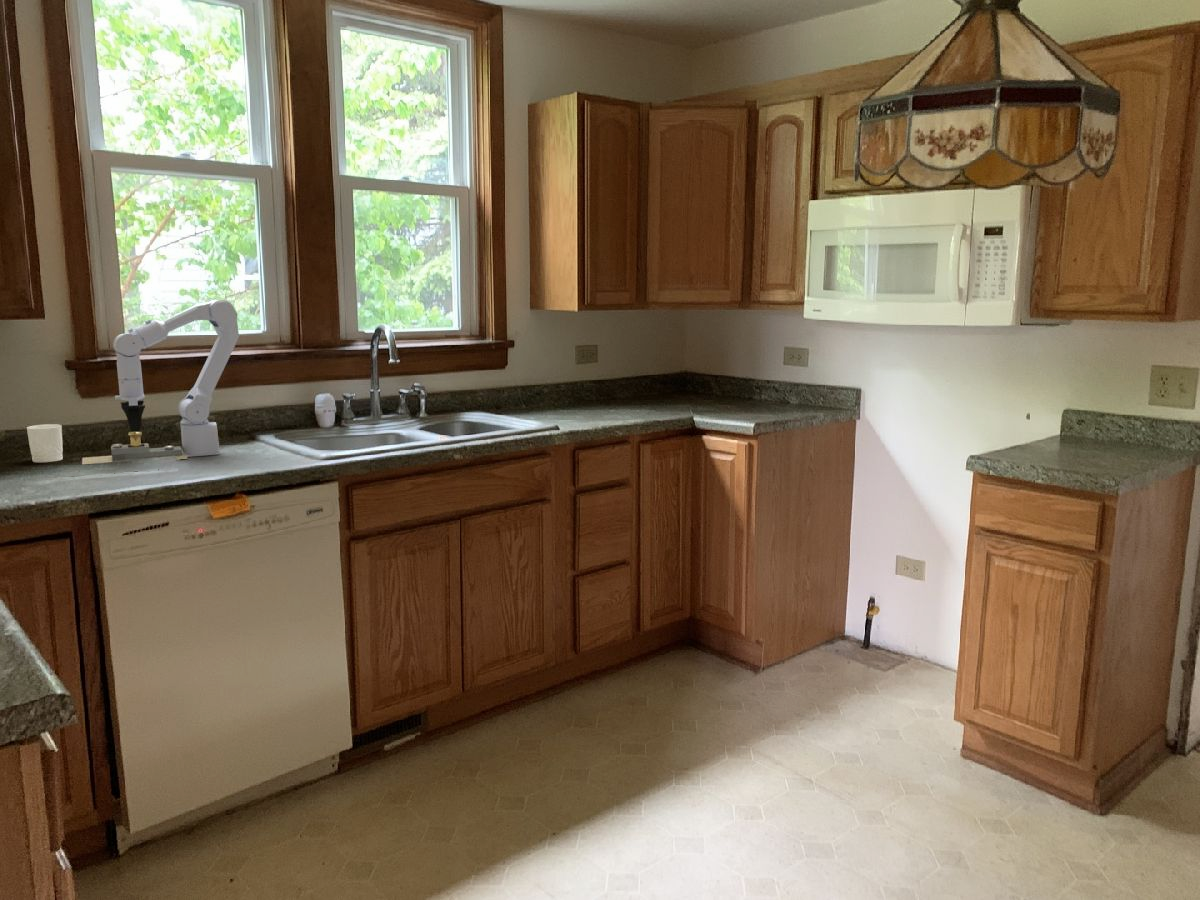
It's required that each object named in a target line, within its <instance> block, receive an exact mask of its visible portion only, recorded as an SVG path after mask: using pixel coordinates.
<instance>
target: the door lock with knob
mask: <svg viewBox="0 0 1200 900" xmlns="http://www.w3.org/2000/svg"><path fill="white" fill-rule="evenodd" d="M149 445H150V444H149V442H148V443H147V442H145V443H141V447H131V443H129V444H122V443H114V444H112V445H110V449H111V455H101V456H89V457H87V456H86V457H82V459H81V465H92V464H104V463H115V462H117V463H118V462H128V461H129V462H130V461H140V460H153V459H169V458H170V459H171V458H175V460H176V461H181V460H180V459H188V457H187V454H186V453H184V452H183V449H182V445H181V446H179V445H178V446H174V445H165V446H164V447H151V448H150V446H149ZM188 460H189V459H188Z"/></svg>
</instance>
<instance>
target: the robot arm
mask: <svg viewBox="0 0 1200 900" xmlns="http://www.w3.org/2000/svg"><path fill="white" fill-rule="evenodd" d="M238 316H239V315H238V312H237V311H236V309H235V307H234V305H233V304H232V303H231V302H230V301H228V300H227V299H216V298H213V299H212V298H211V299H209V300H207V301H206V302H200V303H197V304H195V305H192V306H190V307H188V308H186V309H184V310H182V311H180V312H178V313H176V314H175V315H173V316H170V317H169V318H166V319H165V320H163V321H161V320H157V319H152V320H151V319H147V320H145V321H144V324H142V325H140V326H138V327H135V328H134V329H133V328H128V330H127V331H128V333H121V334H118V335H116V337H115V338H114V339H113V344H112V348H113V350H114V351H115V352H116V370H117V371H116V372H117V379H118V380H117V381H118V382H117V383H118V390H119V392H118V393H119V395H115V396H114V398H115V399H114V400H122V401H121V402H120V407H121V409H122V411H123V412H124V414H125V416H126V419H127V422H128V426H129V429H130V432H141V427H142V426H141V425H142V417H143V414H144V411H145V408H146V405H145V404H144V402H145V401H144V400H143V399H145V398H146V395H145V394H144V385H143V372H142V363H141V359H140V352H141V351H142V349H143V350H145V349H147V348H149V347H151V346H154V345H156V344H158V343H160V342H162V341H164V340H167V338H168V335H169V333H170V332H172V331H174V330H177V329H178V328H181V327H184V326H185V325H187V324H190V323H192V322H195V321H209V323H211V325H212V326H213V329H214V330H215V333H216V334H217V338H216V340H215V342H214V344H213V345H212V348H211V350H210V352H209V354H208V357H207V358H206V361H204V362H205V363H204V364H203V367H202V369H201V371H200V373H199V375H198V377H197V379H196V382H194V384H193V385H194V386H192V388H191V389H190V390H189V391H188V393H187V395H186V396H185V398H183V399H181V400H180V402H179V403H178V405H177V411H178V414H179V416H181V420H180V421H179V423H180V434H181V448H182V450H183V452H184V453H186V454H187V458H188V457H189V458H191V457H202V456H216V455H220V442H219V435H218V432H219V431H218V424H217V422H215V421H211V422H210V421H209V419H208V418H209V416H210V406H211V403H212V402H213V401H212V399H213V393H214V390H215V389H216V386H217V384H218V382H219V380H220V378H221V376H222V374H223V372H224V369H225V367H226V365H227V363H228V361H229V359H230V357H231V354H232V353H233V350H234V348H235V347H236V344H237V342H238V340H239V338H240V333H239V325H238Z"/></svg>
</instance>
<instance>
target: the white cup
mask: <svg viewBox="0 0 1200 900" xmlns="http://www.w3.org/2000/svg"><path fill="white" fill-rule="evenodd" d="M26 431H27V433H26V434H27V438H28V444H29V449H30V455H31V458H32V462H33V463H51V462H58V461H62V460H64V459H63V451H64V449H63V427H62V424H57V423H52V424H51V423H50V424H49V423H47V424H35V425H31V426H27V427H26Z"/></svg>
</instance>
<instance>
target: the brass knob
mask: <svg viewBox="0 0 1200 900" xmlns="http://www.w3.org/2000/svg"><path fill="white" fill-rule="evenodd" d="M142 434H143V433H142V431H136V432H131V431H129V432H128V436H130V439H129V440H130V444H131V447H141V444H142V443H141V436H142Z"/></svg>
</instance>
